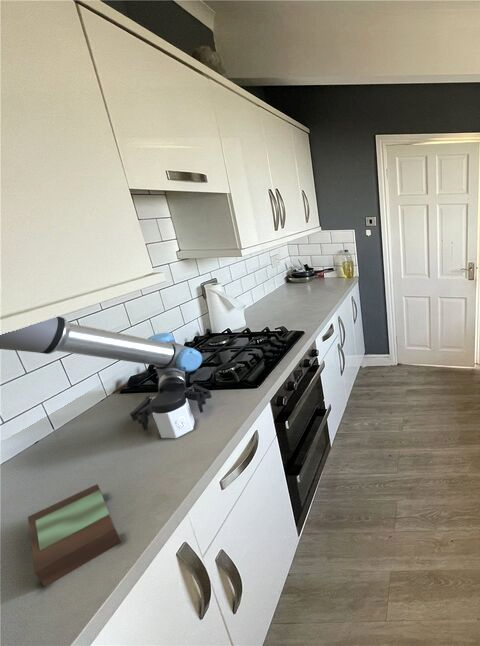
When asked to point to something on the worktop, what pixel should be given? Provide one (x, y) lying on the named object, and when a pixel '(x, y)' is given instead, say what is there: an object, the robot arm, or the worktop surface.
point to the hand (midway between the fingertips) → (173, 417)
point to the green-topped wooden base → (71, 534)
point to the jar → (172, 414)
